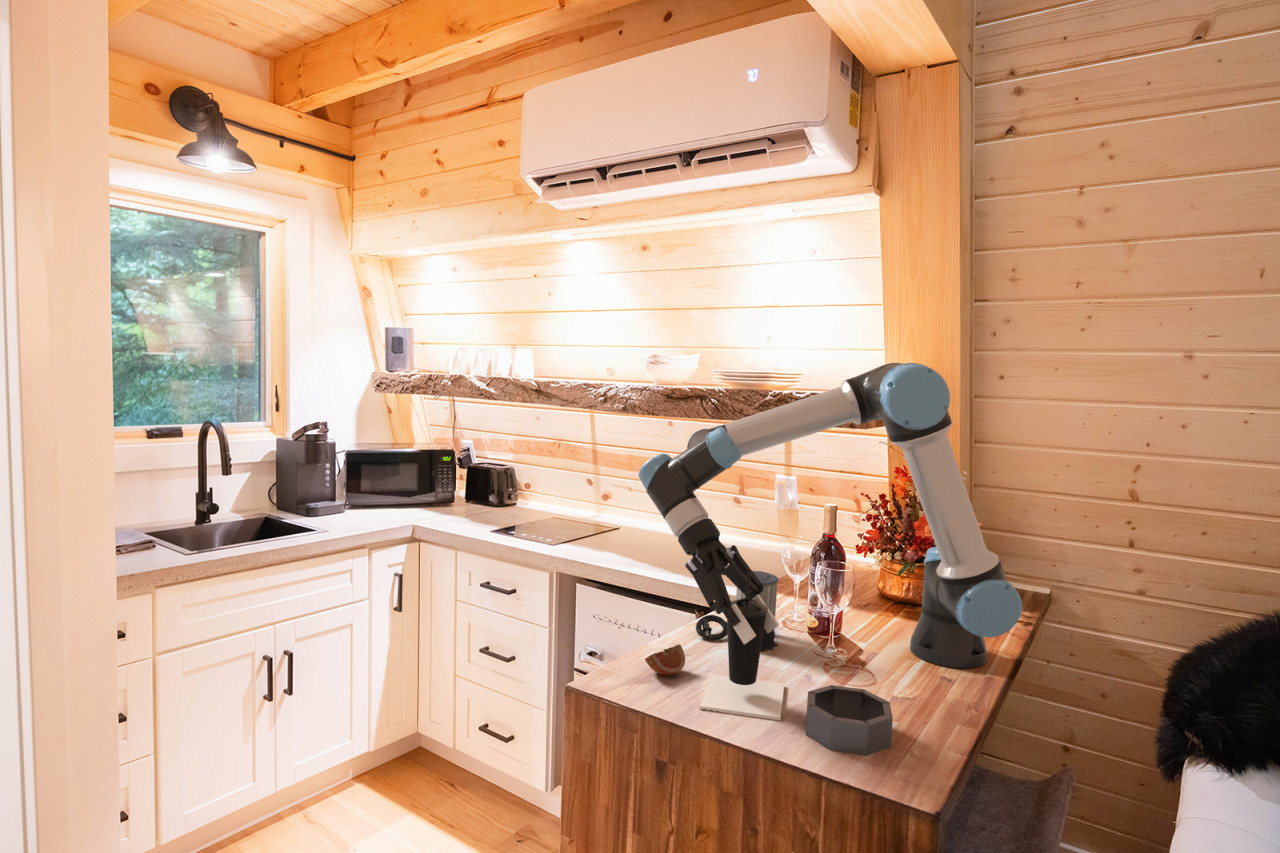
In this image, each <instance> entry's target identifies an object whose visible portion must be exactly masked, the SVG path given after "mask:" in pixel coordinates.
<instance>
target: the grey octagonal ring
mask: <svg viewBox="0 0 1280 853" xmlns="http://www.w3.org/2000/svg"><path fill="white" fill-rule="evenodd" d="M805 717H806V718H805V736H807V737H809V738H810V739H811V740H813V741H815V742H817V743H818V744H820V745H821V746H823V747H824V748H826V749H828V750H830V751H833V752H839V753H847V754H848V753H849V754H855V755H860V756H869V755H872V754H875V753H878V752H881V751H883V750H886V749H889V748H891V747H892V746H891V745H892V733H893V721H894V720H893V719H894V717H893V713H892V707H891V703H890V701H888V700H886V699H884V698H882V697H881V696H878V695H877V694H874V693H872V692H870V691H868V690H866V689H865V688H855V687H849V686H841V685H840V686H839V685H832V684H830V685H827V686H823V687H819V688H815V689H813V690H809V691H807V700H806V716H805Z"/></svg>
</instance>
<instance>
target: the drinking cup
mask: <svg viewBox="0 0 1280 853" xmlns="http://www.w3.org/2000/svg"><path fill="white" fill-rule="evenodd" d="M749 589H750V572H747V574H746V592H745V598H742V599H736V598H735V599H734V600H731V606H732V605H733V604H735V603H736V605H737V606H738V608H739V609H740V611H741V613H742V615H743V616H744V617H745V619H746V620H747V622H748V623H749V625H750V627H751V628H752V630H753V631H754V633H755V634H756V636H755V637H754V638H753V639H751V640H750V641H749V642H748V643H746V644H744V643H743V642H742V640H741V639H740V637H739V636H738V634H737V632H736V631H735V629H734V628H733V627H732V626H731V625H730V623H729V622H728V620H727V619H726V622H727V631H728V633H727V649H728V651H727V654H728V655H727V656H728V676H729V679H730V681H732V682H733V683H735V684H739V685H751V684H754V683H755V682H756V680H757V678H758V671H759V665H760V664H759V663H760V657H761V656H760V655H761V652H762V651H761V645H762V638H763V631H764V625H765V618H766V614H767V612H768V607H767V606H766V605H764V604H762V603H760V602H758V601H756V600H752V599H749Z"/></svg>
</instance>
